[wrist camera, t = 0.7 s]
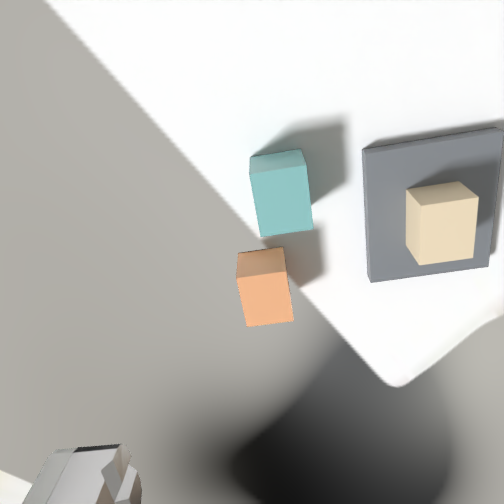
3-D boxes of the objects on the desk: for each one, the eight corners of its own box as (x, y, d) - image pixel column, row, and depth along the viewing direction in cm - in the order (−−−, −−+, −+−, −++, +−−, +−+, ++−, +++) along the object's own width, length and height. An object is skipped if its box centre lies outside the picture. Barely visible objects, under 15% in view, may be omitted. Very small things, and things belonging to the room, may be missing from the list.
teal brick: (249, 157, 40) (249, 174, 35) (300, 148, 39) (306, 164, 35) (259, 214, 43) (260, 237, 38) (307, 207, 42) (313, 229, 38)
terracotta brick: (238, 252, 45) (236, 278, 41) (282, 246, 44) (285, 271, 40) (247, 298, 48) (247, 327, 43) (290, 292, 47) (293, 320, 43)
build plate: (361, 149, 39) (376, 168, 34) (495, 127, 38) (530, 143, 33) (367, 275, 46) (380, 305, 41) (481, 259, 45) (508, 288, 40)
